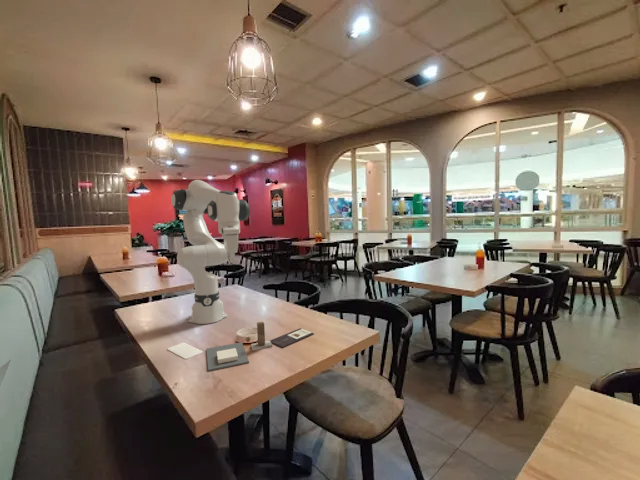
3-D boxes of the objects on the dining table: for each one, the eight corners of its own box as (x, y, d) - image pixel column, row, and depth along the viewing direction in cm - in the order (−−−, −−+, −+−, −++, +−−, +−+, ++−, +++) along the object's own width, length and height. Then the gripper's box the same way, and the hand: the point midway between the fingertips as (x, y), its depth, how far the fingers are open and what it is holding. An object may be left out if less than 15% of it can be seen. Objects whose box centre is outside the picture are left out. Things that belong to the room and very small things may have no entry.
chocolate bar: (268, 340, 127) (300, 328, 140) (268, 343, 128) (300, 330, 141) (282, 347, 121) (313, 333, 134) (282, 349, 121) (313, 335, 134)
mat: (206, 349, 121) (206, 348, 121) (242, 343, 127) (242, 342, 127) (208, 371, 105) (208, 369, 105) (248, 362, 110) (248, 361, 110)
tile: (216, 351, 115) (217, 359, 108) (235, 348, 117) (237, 355, 111) (216, 355, 115) (218, 364, 108) (235, 352, 117) (238, 360, 111)
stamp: (250, 346, 124) (249, 323, 123) (270, 343, 127) (269, 319, 126) (252, 350, 120) (251, 326, 119) (272, 346, 123) (271, 323, 122)
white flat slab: (186, 359, 114) (166, 348, 123) (186, 361, 114) (166, 350, 123) (203, 351, 119) (183, 342, 129) (203, 353, 120) (184, 343, 129)
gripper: (219, 228, 137) (221, 258, 138) (223, 230, 118) (225, 265, 119) (234, 227, 139) (235, 257, 140) (240, 229, 120) (241, 264, 122)
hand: (231, 261), depth 130 cm, fingers open, 8 cm apart
